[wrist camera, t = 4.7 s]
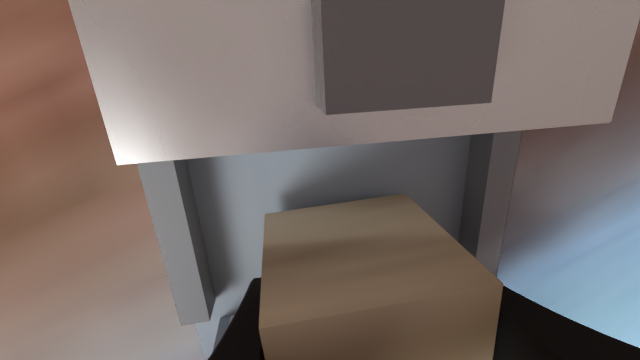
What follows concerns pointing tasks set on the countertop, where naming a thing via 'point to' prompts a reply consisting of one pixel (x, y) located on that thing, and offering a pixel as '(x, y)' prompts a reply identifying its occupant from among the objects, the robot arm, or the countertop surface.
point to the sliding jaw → (345, 70)
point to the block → (372, 286)
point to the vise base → (310, 191)
